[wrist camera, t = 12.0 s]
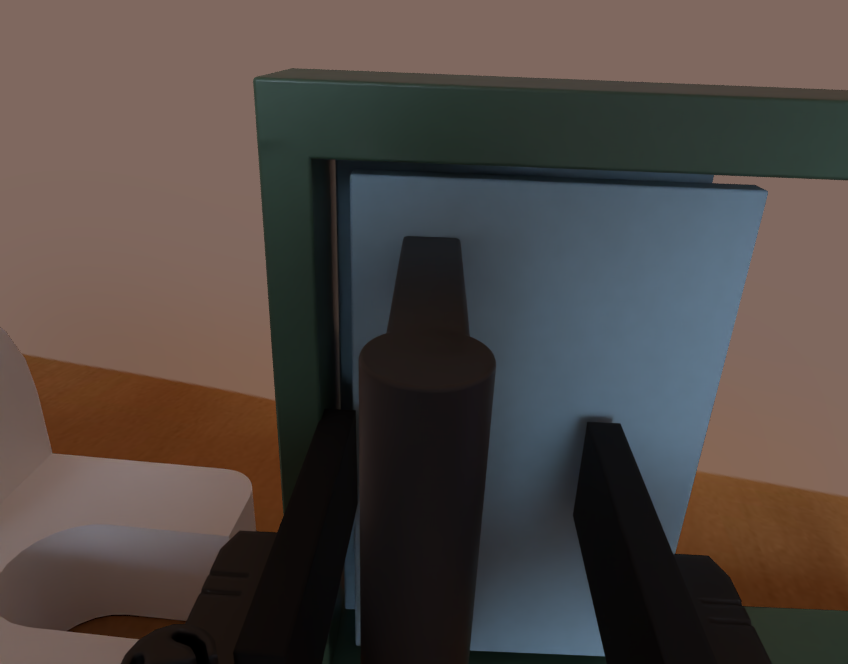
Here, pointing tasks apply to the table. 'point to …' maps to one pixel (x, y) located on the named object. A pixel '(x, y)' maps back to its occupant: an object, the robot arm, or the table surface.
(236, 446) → the table surface
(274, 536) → the robot arm
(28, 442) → the bracket
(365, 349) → the window pane
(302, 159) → the window frame
